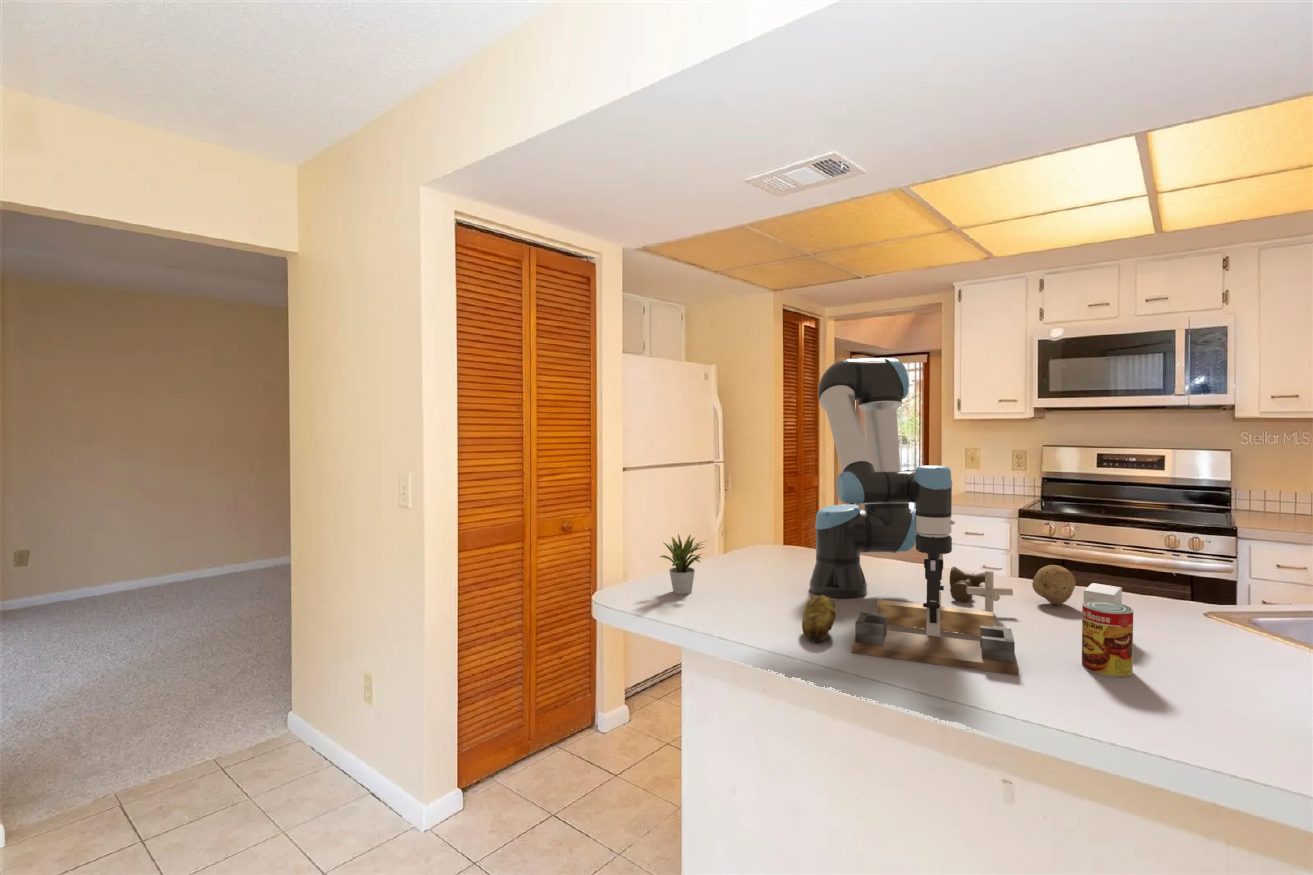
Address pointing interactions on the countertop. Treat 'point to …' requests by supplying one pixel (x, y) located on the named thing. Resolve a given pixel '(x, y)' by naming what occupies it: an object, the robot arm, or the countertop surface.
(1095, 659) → the canned food
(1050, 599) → the natural sponge
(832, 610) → the potato
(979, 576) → the kendama
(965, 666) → the end cap board
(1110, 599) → the small box
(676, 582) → the house plant
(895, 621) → the oak slat
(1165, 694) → the countertop surface
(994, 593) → the pipe connector
